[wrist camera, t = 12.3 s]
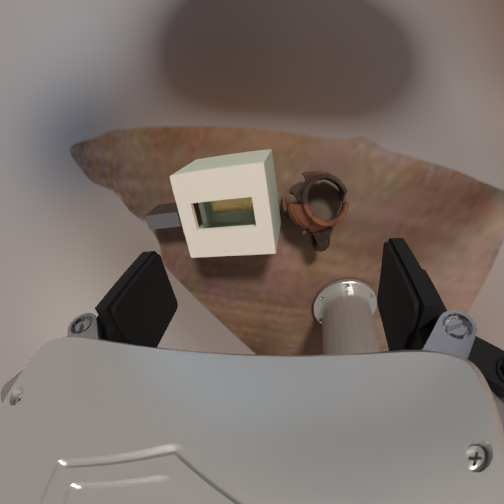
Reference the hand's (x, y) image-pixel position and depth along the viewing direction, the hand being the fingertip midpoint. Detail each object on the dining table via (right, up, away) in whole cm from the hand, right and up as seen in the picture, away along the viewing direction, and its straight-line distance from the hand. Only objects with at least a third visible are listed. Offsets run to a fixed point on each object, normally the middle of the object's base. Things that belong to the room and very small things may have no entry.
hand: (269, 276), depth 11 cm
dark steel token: (-14, +8, +36) cm, 39 cm away
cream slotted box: (-3, +11, +32) cm, 34 cm away
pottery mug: (+9, +9, +32) cm, 34 cm away
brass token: (-3, +10, +32) cm, 33 cm away
